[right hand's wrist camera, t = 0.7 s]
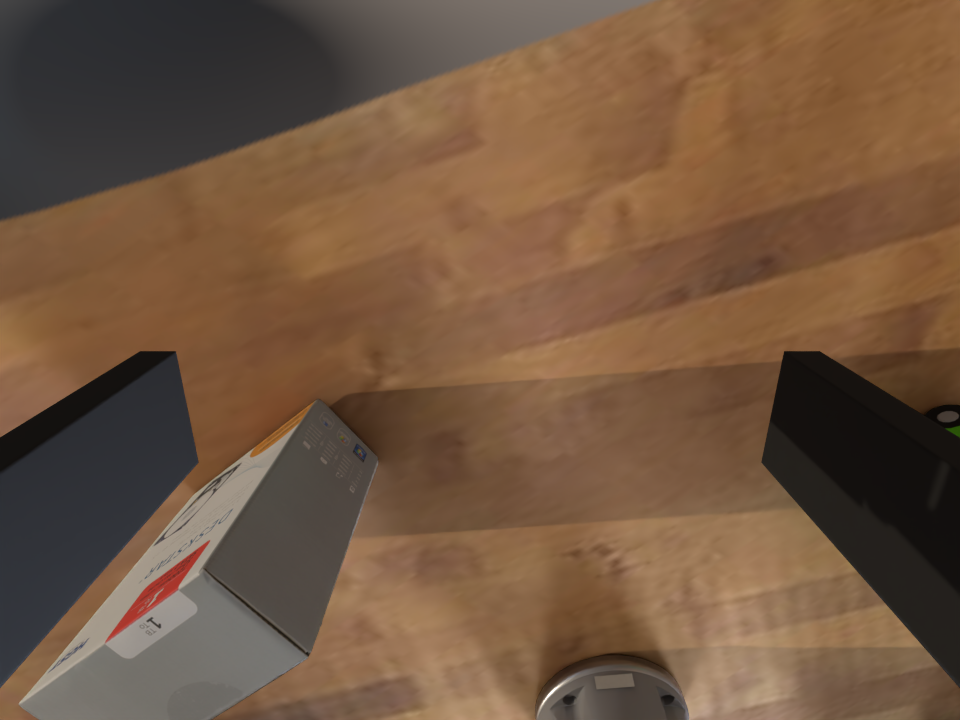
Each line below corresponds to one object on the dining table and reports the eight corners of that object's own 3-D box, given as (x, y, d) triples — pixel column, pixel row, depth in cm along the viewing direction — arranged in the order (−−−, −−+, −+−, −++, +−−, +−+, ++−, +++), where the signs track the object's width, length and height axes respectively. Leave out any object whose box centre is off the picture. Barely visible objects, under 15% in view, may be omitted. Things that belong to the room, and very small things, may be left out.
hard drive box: (318, 393, 46) (207, 566, 27) (382, 458, 48) (320, 660, 29) (189, 494, 49) (11, 710, 30) (253, 551, 51) (124, 784, 33)
